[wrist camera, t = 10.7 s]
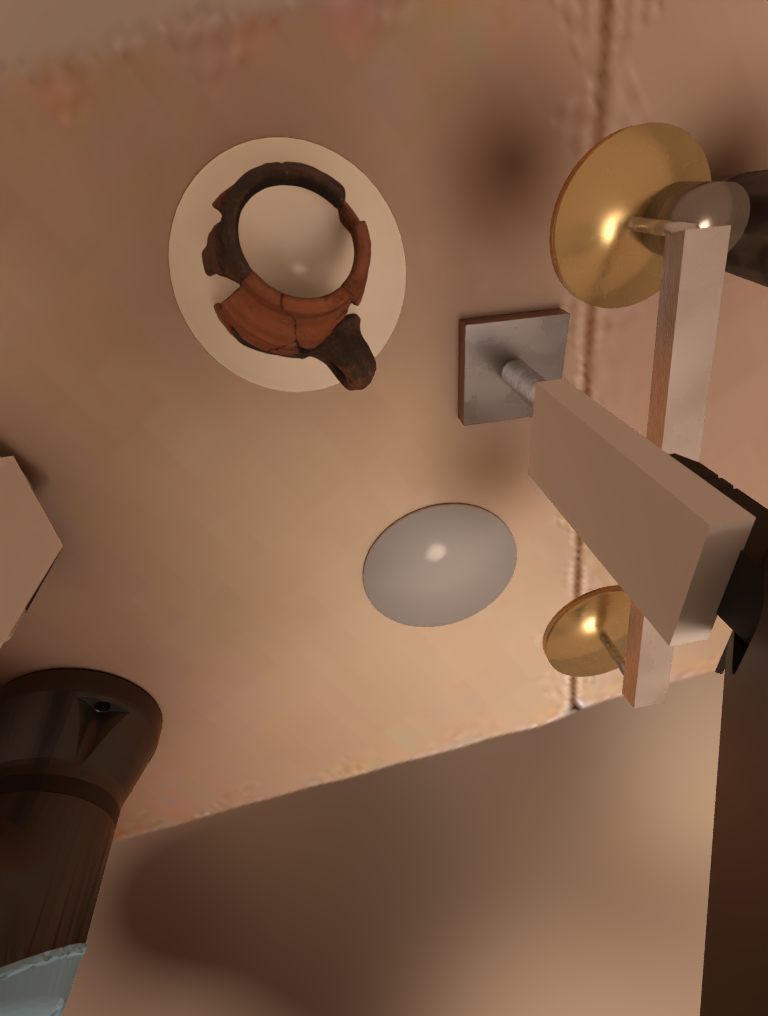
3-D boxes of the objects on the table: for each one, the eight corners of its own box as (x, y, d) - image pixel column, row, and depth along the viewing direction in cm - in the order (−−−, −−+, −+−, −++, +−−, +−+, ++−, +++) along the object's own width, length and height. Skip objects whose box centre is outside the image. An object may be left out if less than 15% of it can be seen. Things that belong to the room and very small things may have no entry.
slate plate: (370, 635, 49) (370, 637, 49) (355, 516, 41) (355, 518, 41) (510, 611, 50) (511, 614, 50) (521, 492, 42) (522, 494, 42)
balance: (457, 520, 43) (570, 756, 25) (461, 147, 28) (728, 101, 11) (536, 508, 43) (700, 731, 26) (579, 136, 29) (1010, 79, 12)
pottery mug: (169, 286, 30) (154, 219, 22) (281, 190, 32) (304, 97, 24) (312, 433, 33) (342, 420, 26) (407, 339, 35) (462, 300, 27)
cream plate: (206, 402, 34) (205, 404, 34) (134, 148, 26) (132, 148, 26) (409, 377, 35) (410, 378, 35) (398, 127, 28) (399, 126, 27)
